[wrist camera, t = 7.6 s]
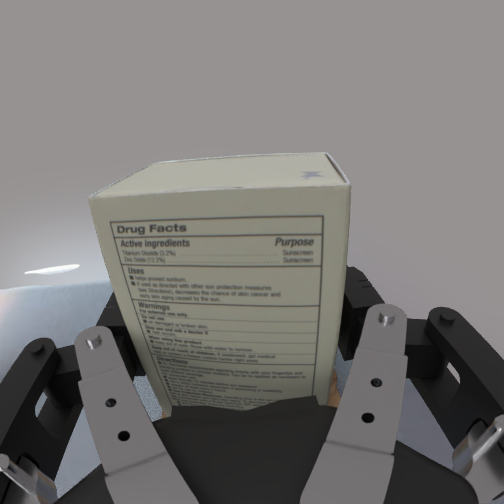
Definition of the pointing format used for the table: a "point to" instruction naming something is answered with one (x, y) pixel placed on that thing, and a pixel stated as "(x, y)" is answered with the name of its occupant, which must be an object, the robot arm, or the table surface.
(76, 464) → the table surface
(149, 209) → the skincare box
